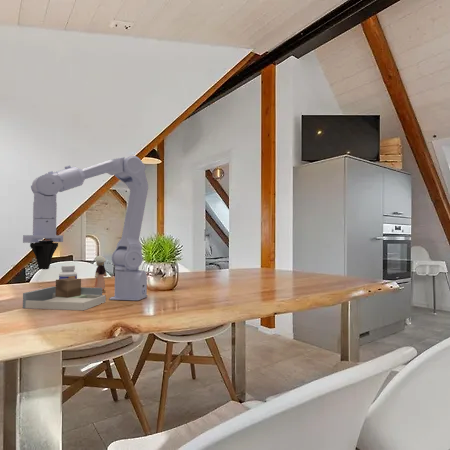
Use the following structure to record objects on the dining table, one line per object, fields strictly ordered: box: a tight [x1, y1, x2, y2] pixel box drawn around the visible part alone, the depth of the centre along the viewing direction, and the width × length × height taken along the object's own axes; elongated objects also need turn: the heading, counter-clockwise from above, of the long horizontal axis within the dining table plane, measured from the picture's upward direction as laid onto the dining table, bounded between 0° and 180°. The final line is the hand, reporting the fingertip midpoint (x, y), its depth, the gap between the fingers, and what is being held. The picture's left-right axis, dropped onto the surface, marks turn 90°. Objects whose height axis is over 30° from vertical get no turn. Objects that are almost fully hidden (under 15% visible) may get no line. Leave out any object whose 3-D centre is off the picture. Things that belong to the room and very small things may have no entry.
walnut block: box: [55, 278, 82, 298], centre depth 107 cm, size 5×5×5 cm
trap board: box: [22, 286, 107, 311], centre depth 104 cm, size 18×13×4 cm
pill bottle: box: [58, 264, 78, 279], centre depth 120 cm, size 5×5×10 cm
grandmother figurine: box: [93, 255, 108, 294], centre depth 127 cm, size 8×4×13 cm, turn 5°
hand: (43, 269), depth 100 cm, fingers closed
